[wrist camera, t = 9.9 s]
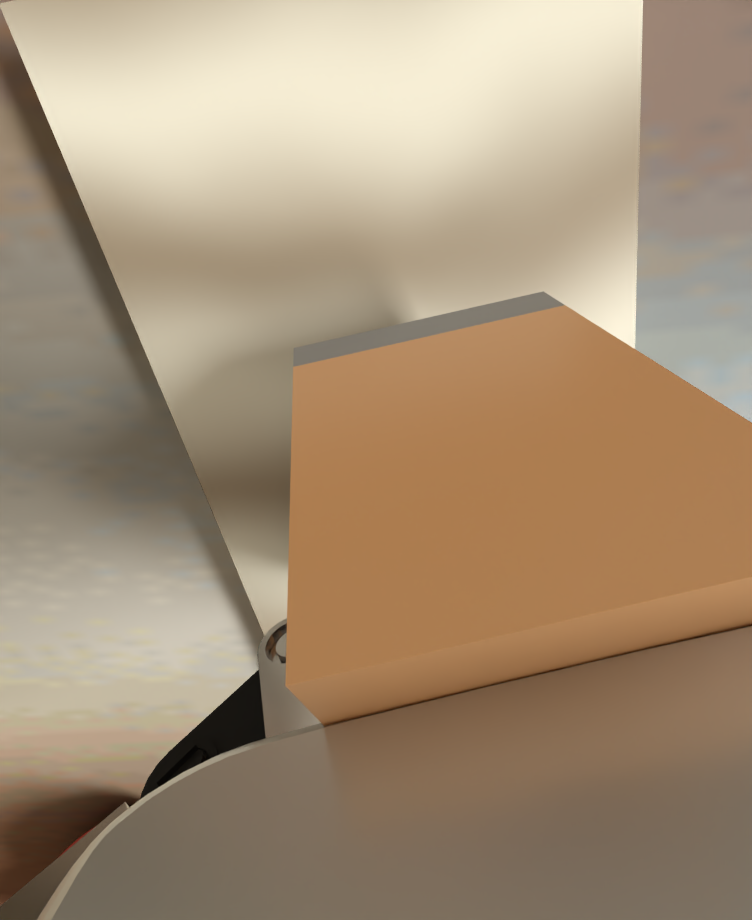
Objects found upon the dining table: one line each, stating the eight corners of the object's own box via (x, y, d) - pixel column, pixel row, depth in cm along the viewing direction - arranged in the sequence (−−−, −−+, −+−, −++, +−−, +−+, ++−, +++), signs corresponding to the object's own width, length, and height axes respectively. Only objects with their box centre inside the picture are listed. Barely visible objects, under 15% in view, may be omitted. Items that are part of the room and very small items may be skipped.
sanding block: (293, 347, 7) (286, 686, 3) (543, 291, 7) (929, 535, 3) (361, 552, 12) (399, 803, 7) (514, 517, 12) (644, 745, 7)
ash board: (54, 55, 9) (-2, 3, 7) (597, -69, 9) (647, -146, 7) (318, 722, 17) (316, 760, 15) (603, 654, 17) (627, 685, 15)
